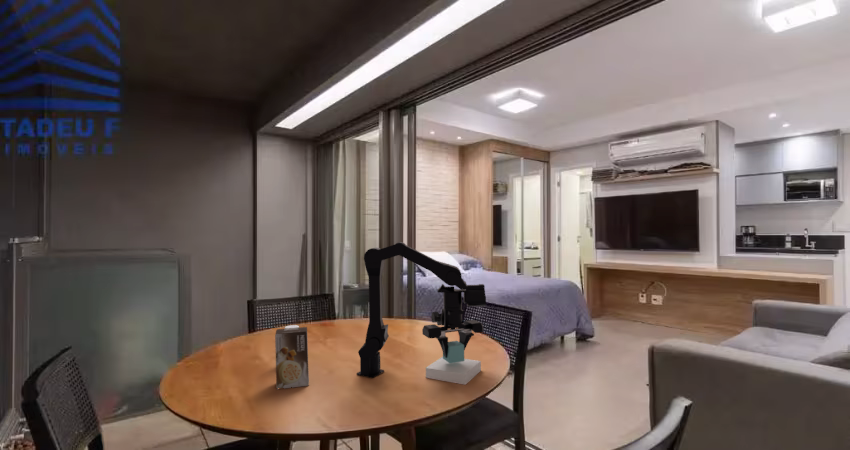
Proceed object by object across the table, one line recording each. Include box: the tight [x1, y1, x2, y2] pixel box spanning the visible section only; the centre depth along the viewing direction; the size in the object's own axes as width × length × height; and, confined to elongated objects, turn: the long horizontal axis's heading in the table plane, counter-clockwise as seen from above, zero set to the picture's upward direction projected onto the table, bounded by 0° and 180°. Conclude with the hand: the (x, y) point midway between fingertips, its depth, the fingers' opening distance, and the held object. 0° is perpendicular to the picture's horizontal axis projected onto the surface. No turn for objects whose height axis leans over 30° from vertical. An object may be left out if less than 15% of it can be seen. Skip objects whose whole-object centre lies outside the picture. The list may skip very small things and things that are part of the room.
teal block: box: [442, 340, 465, 363], centre depth 123 cm, size 5×5×5 cm
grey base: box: [425, 356, 482, 385], centre depth 123 cm, size 13×13×3 cm
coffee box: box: [274, 326, 310, 390], centre depth 118 cm, size 9×6×16 cm
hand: (453, 356), depth 123 cm, fingers closed on teal block, 5 cm apart
